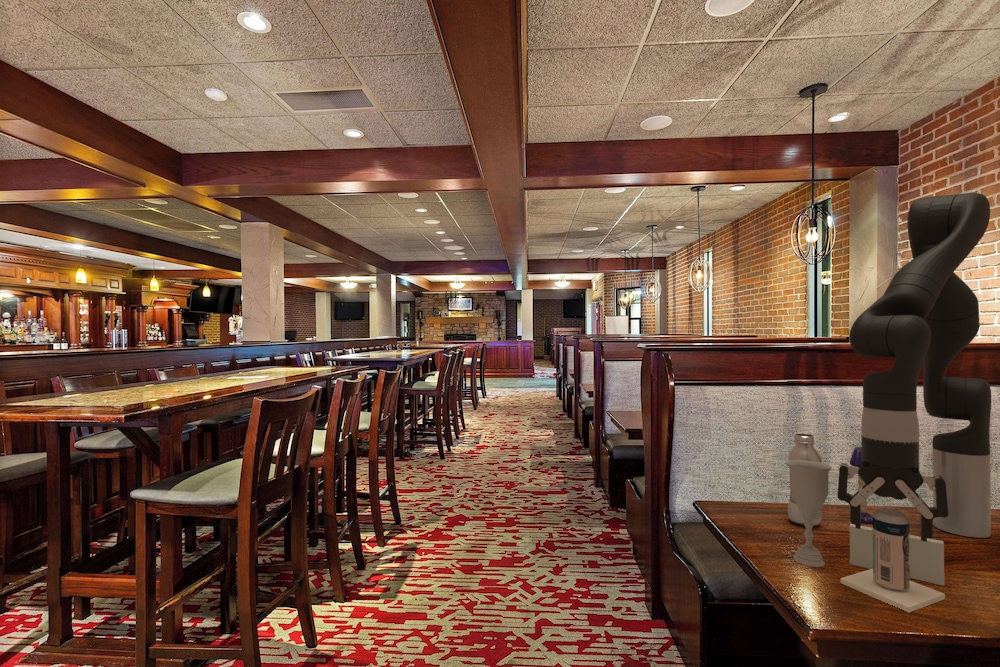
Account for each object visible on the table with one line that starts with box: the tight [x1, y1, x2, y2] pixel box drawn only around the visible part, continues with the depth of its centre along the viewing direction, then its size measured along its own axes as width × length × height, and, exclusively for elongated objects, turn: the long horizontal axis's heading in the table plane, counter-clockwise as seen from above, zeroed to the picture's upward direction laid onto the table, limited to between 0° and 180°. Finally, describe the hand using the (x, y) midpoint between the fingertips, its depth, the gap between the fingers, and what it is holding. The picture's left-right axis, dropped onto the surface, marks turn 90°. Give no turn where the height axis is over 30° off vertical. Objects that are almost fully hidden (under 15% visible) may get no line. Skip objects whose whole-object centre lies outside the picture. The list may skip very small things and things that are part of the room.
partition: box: [849, 523, 945, 587], centre depth 88 cm, size 13×2×7 cm, turn 52°
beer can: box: [872, 508, 911, 591], centre depth 82 cm, size 5×5×12 cm
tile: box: [840, 569, 946, 614], centre depth 82 cm, size 10×10×1 cm
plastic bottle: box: [787, 433, 823, 527], centre depth 111 cm, size 6×7×20 cm
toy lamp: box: [849, 446, 873, 525], centre depth 113 cm, size 5×5×17 cm
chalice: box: [786, 460, 833, 568], centre depth 93 cm, size 7×7×18 cm
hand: (890, 533), depth 82 cm, fingers open, 8 cm apart
